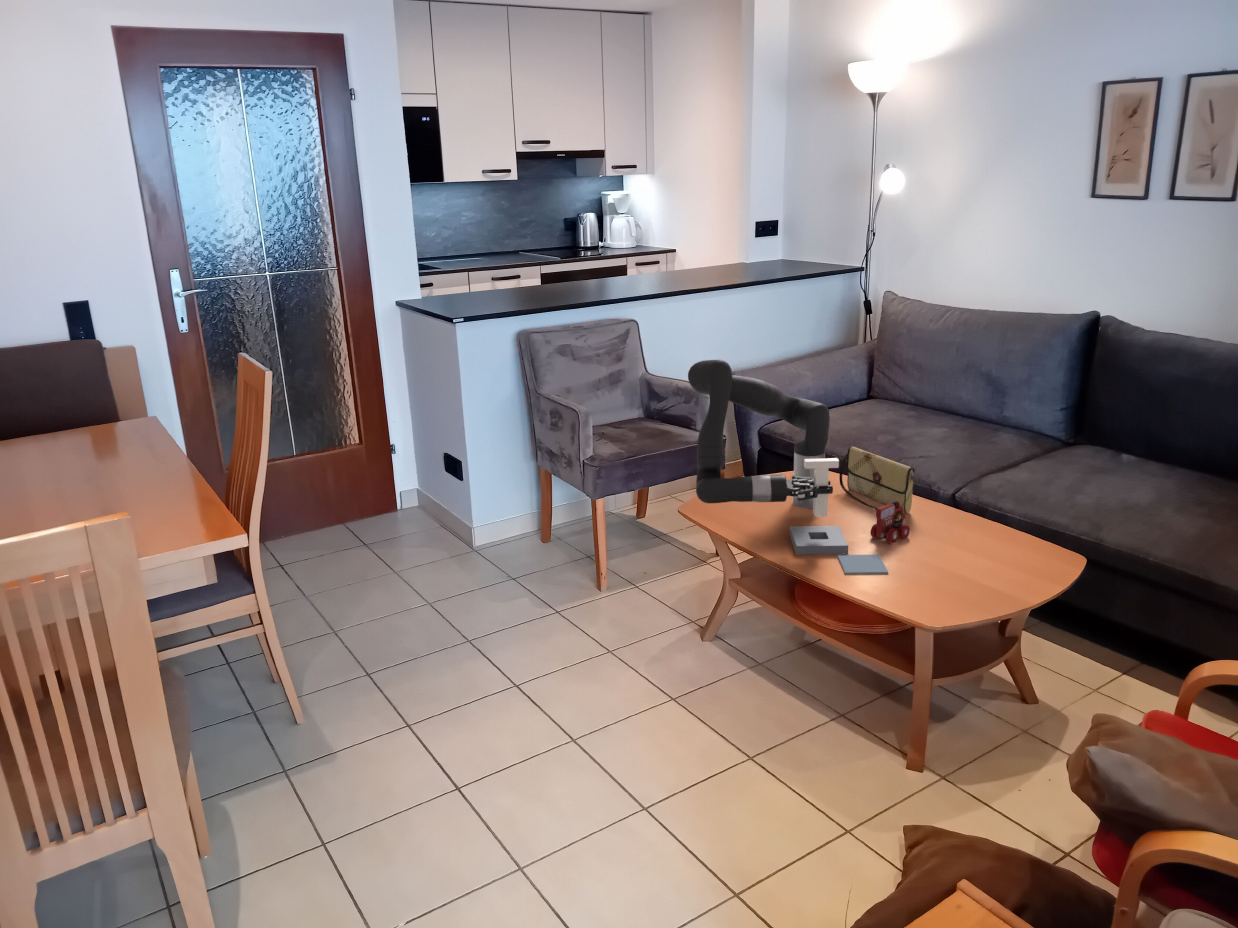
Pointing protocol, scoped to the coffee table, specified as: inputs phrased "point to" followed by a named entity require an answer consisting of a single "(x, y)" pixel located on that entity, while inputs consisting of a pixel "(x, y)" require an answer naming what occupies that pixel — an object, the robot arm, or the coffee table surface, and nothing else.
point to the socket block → (818, 540)
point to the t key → (821, 481)
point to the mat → (862, 564)
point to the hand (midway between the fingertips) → (831, 486)
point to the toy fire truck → (890, 523)
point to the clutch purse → (878, 478)
